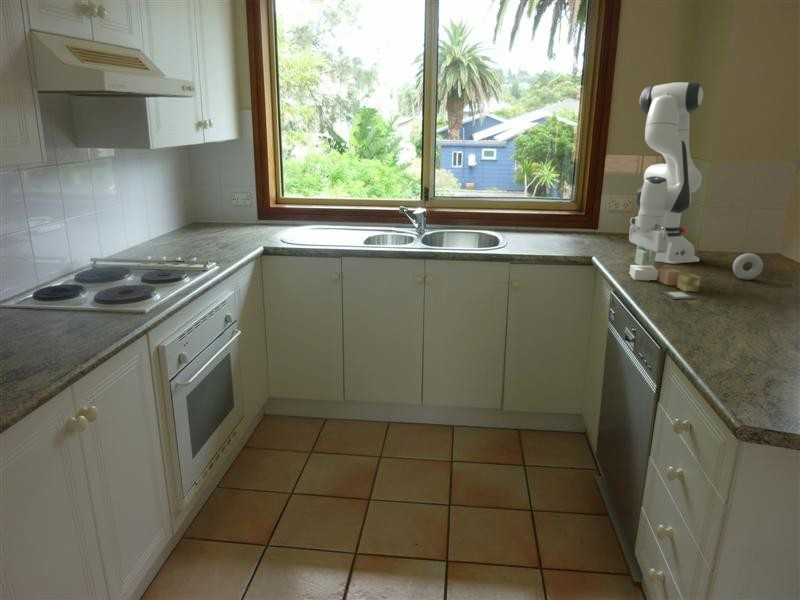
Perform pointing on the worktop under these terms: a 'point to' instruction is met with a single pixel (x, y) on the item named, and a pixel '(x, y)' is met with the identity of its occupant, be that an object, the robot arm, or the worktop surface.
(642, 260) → the sage cube
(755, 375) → the worktop surface
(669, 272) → the terracotta cube
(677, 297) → the tile
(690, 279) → the ochre cube
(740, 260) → the donut
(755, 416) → the worktop surface
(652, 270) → the base block
